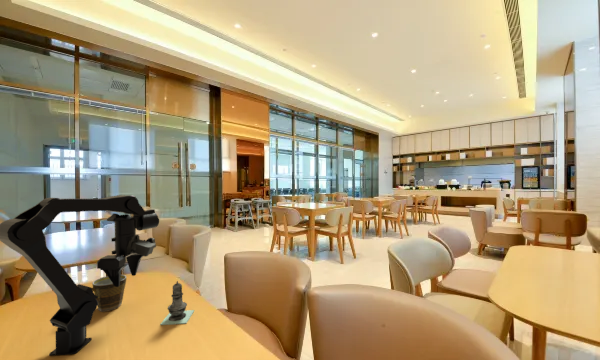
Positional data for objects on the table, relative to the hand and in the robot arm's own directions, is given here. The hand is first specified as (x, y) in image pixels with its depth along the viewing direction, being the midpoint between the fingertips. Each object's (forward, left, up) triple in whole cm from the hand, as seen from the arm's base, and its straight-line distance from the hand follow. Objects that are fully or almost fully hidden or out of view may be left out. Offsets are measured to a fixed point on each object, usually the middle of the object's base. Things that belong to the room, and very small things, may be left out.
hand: (126, 280), depth 84 cm
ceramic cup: (+9, +12, -13) cm, 20 cm away
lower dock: (0, -16, -13) cm, 21 cm away
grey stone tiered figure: (0, -16, -13) cm, 21 cm away
